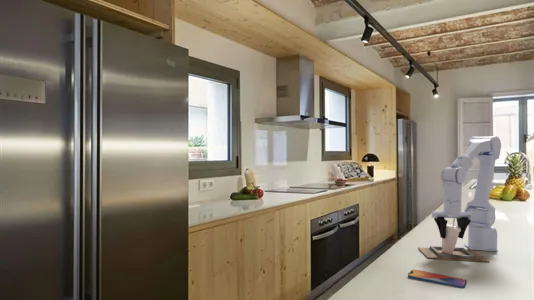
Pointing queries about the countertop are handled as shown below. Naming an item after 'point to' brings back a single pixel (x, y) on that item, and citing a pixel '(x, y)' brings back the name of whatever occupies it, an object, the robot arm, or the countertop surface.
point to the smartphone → (437, 278)
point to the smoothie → (450, 238)
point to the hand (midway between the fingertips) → (451, 237)
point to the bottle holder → (458, 254)
